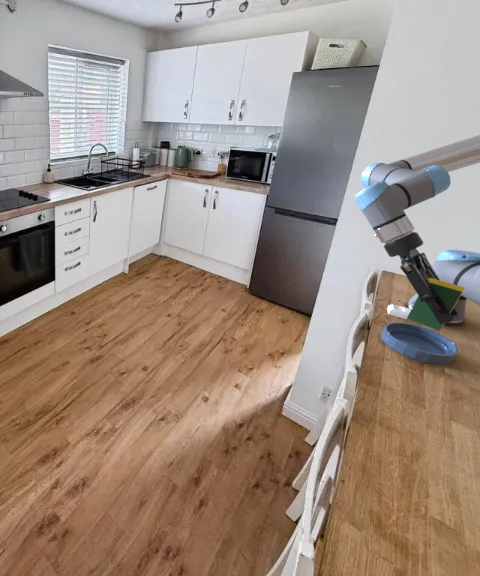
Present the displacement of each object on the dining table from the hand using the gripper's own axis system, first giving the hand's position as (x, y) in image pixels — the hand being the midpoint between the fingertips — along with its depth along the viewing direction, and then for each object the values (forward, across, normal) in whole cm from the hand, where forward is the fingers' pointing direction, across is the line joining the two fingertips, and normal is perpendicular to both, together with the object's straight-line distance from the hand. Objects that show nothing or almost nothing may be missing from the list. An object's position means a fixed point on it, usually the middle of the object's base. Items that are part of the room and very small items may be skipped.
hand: (448, 318), depth 93 cm
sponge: (-1, 0, -5) cm, 5 cm away
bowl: (+9, -12, -14) cm, 20 cm away
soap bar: (+3, -32, -19) cm, 37 cm away
